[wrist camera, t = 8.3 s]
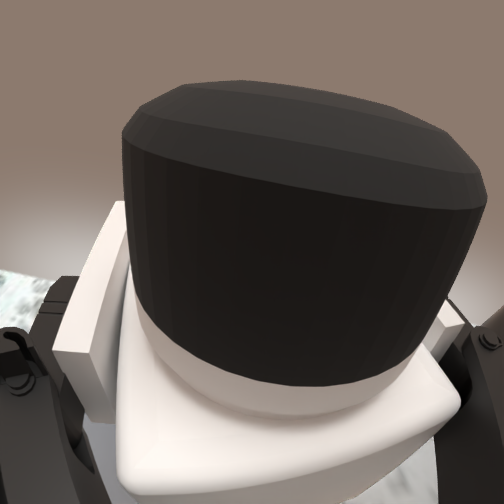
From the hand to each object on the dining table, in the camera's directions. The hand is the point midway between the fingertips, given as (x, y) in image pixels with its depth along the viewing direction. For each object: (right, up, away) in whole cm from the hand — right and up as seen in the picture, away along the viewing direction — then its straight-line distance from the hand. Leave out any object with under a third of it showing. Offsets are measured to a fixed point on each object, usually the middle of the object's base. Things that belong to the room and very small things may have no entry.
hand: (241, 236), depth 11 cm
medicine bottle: (0, -8, -1) cm, 8 cm away
